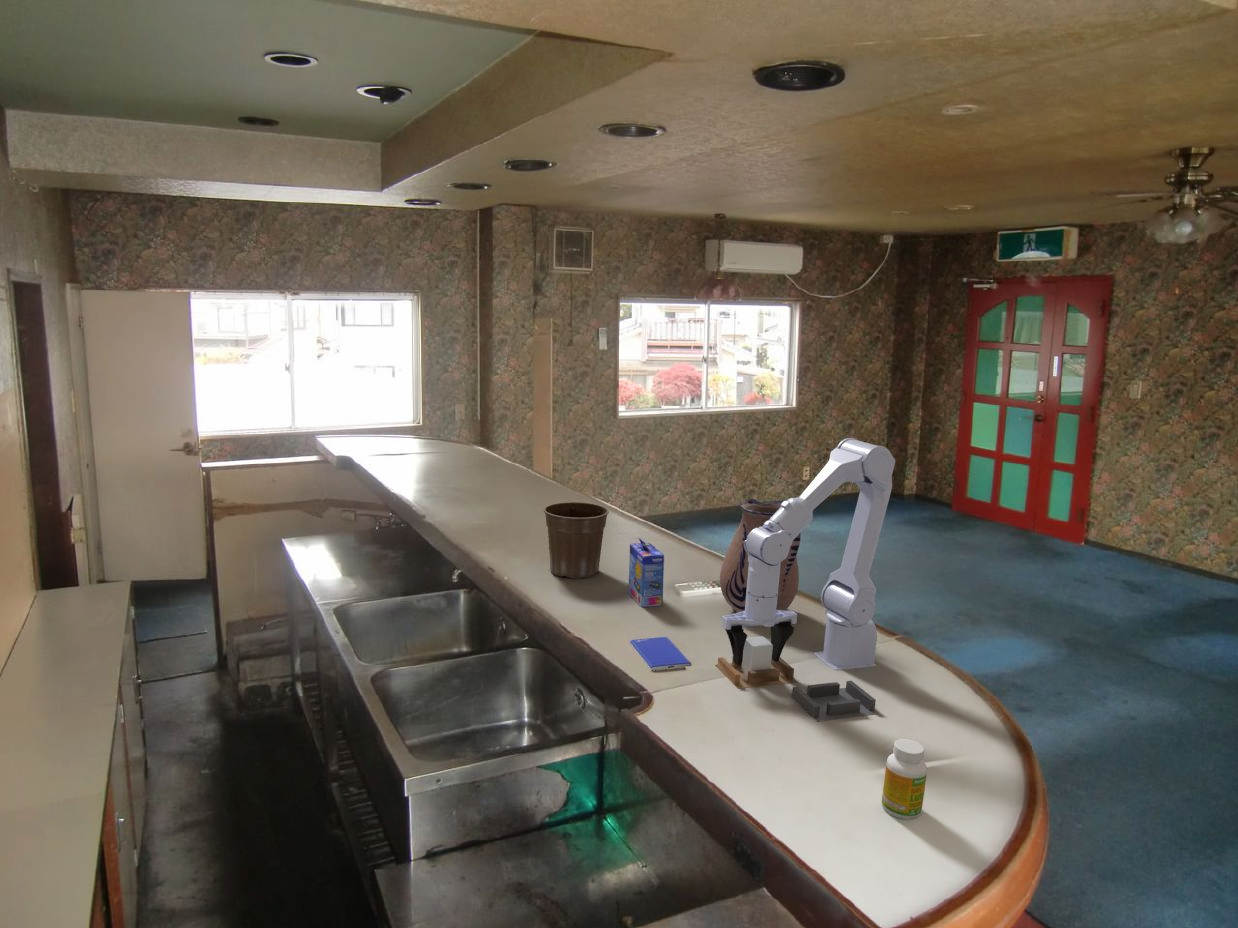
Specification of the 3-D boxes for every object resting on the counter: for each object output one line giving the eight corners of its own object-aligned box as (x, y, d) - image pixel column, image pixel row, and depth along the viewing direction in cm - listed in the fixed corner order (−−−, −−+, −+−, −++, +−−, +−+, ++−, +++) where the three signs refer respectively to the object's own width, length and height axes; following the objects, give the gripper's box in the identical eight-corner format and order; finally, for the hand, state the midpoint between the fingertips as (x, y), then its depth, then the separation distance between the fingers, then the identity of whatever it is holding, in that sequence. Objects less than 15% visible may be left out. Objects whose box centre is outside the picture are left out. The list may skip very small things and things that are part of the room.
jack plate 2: (846, 690, 155) (847, 677, 154) (878, 716, 145) (880, 703, 145) (787, 696, 151) (789, 683, 150) (817, 724, 141) (818, 710, 141)
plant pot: (529, 566, 214) (531, 505, 211) (583, 557, 223) (585, 498, 220) (563, 586, 201) (565, 520, 198) (618, 575, 210) (621, 513, 207)
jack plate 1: (770, 661, 165) (771, 649, 165) (796, 684, 156) (797, 671, 155) (714, 667, 161) (715, 654, 161) (737, 690, 152) (738, 678, 151)
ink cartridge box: (626, 592, 199) (629, 533, 196) (648, 591, 201) (651, 532, 198) (640, 607, 190) (643, 546, 187) (663, 606, 192) (667, 545, 189)
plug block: (760, 668, 161) (762, 636, 159) (769, 677, 157) (772, 644, 156) (740, 670, 159) (743, 637, 158) (750, 679, 156) (753, 646, 154)
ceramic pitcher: (758, 593, 203) (767, 492, 198) (824, 624, 186) (835, 514, 181) (701, 605, 193) (709, 499, 188) (764, 638, 176) (775, 523, 171)
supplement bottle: (911, 825, 115) (920, 760, 113) (874, 808, 119) (882, 745, 117) (927, 809, 119) (936, 746, 117) (891, 793, 123) (898, 731, 121)
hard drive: (629, 639, 170) (651, 666, 158) (667, 636, 172) (691, 661, 161) (629, 646, 170) (650, 673, 158) (667, 643, 173) (690, 669, 161)
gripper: (735, 602, 149) (730, 674, 152) (808, 597, 154) (801, 666, 156) (719, 589, 156) (713, 657, 158) (788, 584, 160) (782, 651, 163)
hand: (756, 661), depth 158 cm, fingers open, 7 cm apart
